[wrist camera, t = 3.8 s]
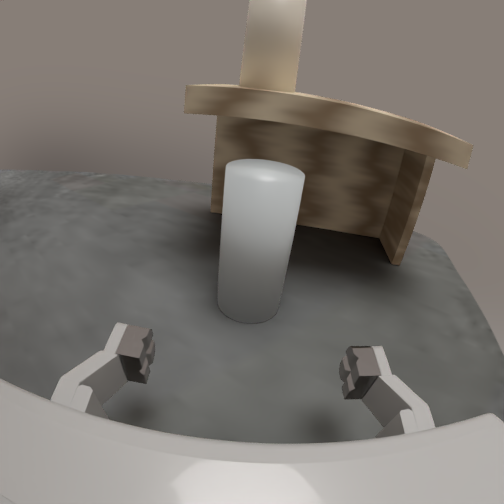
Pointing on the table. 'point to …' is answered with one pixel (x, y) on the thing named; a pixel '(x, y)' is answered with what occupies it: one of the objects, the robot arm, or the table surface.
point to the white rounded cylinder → (272, 44)
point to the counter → (331, 156)
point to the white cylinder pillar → (256, 236)
